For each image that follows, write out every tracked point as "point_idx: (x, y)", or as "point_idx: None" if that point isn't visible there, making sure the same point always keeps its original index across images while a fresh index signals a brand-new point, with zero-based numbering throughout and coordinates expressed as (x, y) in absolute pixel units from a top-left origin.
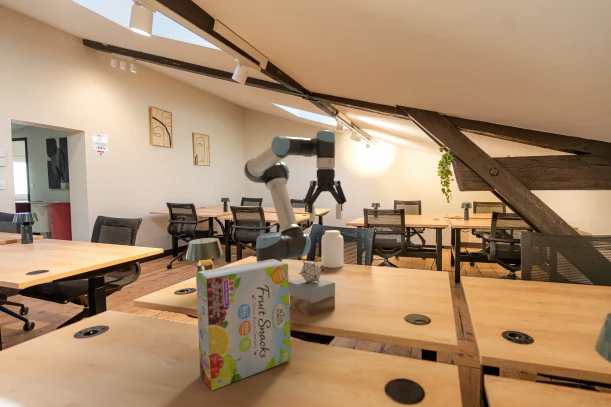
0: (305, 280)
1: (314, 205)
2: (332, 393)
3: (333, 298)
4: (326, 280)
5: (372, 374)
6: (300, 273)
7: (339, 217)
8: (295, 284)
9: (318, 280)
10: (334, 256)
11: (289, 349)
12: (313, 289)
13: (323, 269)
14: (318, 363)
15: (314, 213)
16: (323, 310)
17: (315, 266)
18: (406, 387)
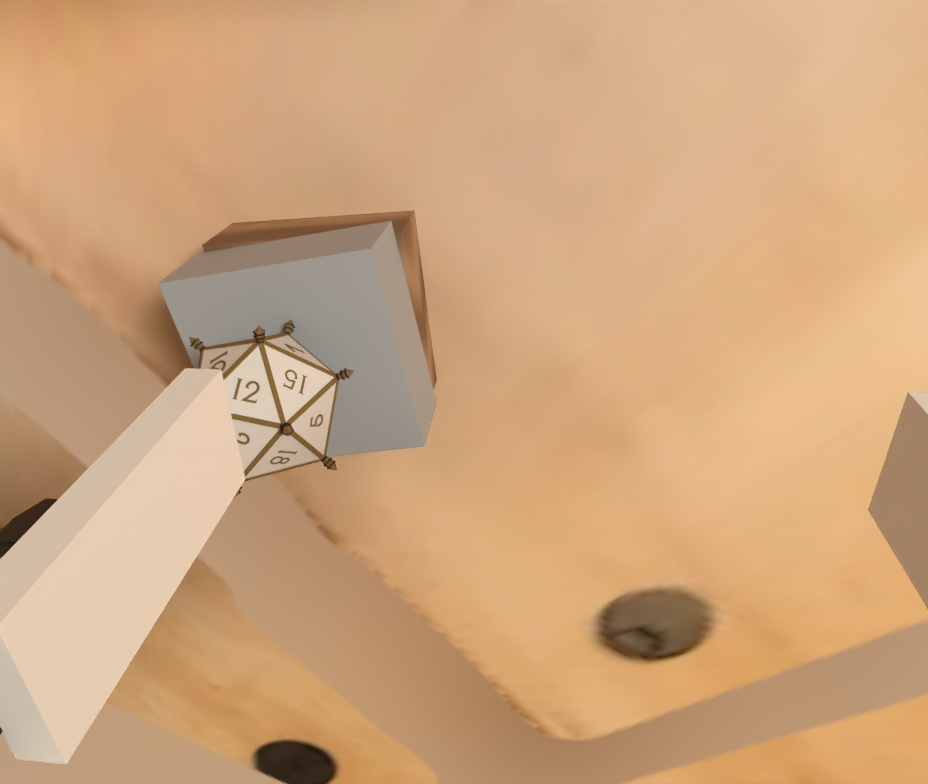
0: (271, 314)
1: (63, 760)
2: (153, 707)
3: None
4: (399, 389)
5: (268, 713)
6: (201, 351)
7: (888, 529)
8: (183, 339)
9: (351, 362)
10: None
11: None
12: None
13: (330, 468)
14: (167, 630)
15: (172, 587)
16: None
17: (257, 474)
18: (305, 763)
